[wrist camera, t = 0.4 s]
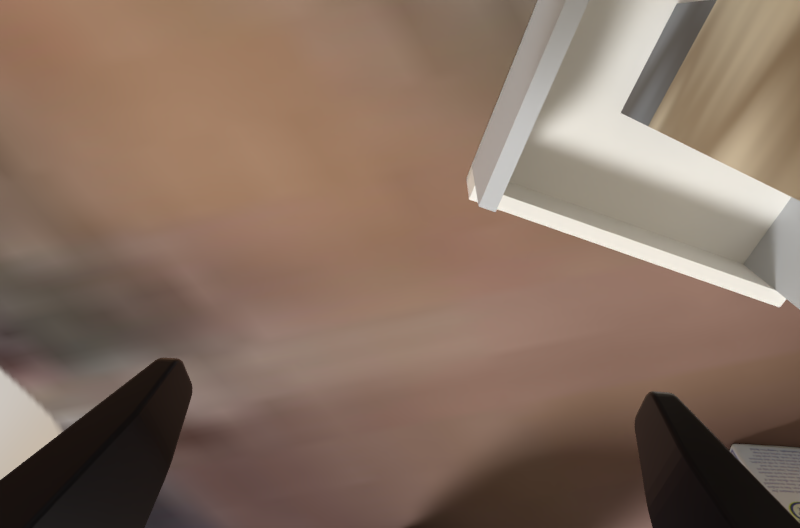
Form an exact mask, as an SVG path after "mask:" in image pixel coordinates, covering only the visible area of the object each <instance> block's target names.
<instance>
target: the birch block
mask: <svg viewBox="0 0 800 528" xmlns="http://www.w3.org/2000/svg"><path fill="white" fill-rule="evenodd" d="M621 113H622V114H624V115H626V116H628V117H630V118H632V119H634V120H636V121H638V122H640V123H642V124H644V125H646V126H648V127H650V128H652V129H654V130H656V131H658V132H660V133H663V134H665V135H667V136H669V137H671V138H673V139H675V140H677V141H679V142H681V143H683V144H685V145H687V146H689V147H691V148H693V149H695V150H697V151H699V152H701V153H703V154H705V155H707V156H709V157H711V158H713V159H715V160H717V161H719V162H721V163H723V164H725V165H727V166H730V167H732V168H734V169H736V170H738V171H740V172H742V173H744V174H746V175H748V176H750V177H752V178H754V179H756V180H758V181H760V182H762V183H764V184H766V185H768V186H770V187H772V188H774V189H776V190H778V191H780V192H782V193H784V194H786V195H788V196H790V197H792V198H795V199H797V200H799V201H800V0H704V1H695V2H686V3H677V4H676V6H675V8H674V10H673V12H672V14H671V16H670V17H669V19H668V21H667V23H666V25H665V27H664V29H663V31H662V33H661V35H660V37H659V39H658V41H657V43H656V45H655V47H654V49H653V51H652V52H651V54H650V56H649V58H648V60H647V62H646V64H645V66H644V68H643V70H642V72H641V74H640V76H639V78H638V80H637V82H636V84H635V86H634V88H633V89H632V91H631V93H630V95H629V97H628V99H627V101H626V103H625V105H624V107H623V109H622V111H621Z"/></svg>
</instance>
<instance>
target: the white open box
mask: <svg viewBox="0 0 800 528" xmlns="http://www.w3.org/2000/svg"><path fill="white" fill-rule="evenodd" d="M695 1H704V0H538V1H537V4H536V6H535V9H534V11H533V14H532V16H531V19H530V21H529V24H528V26H527V29H526V31H525V34H524V36H523V39H522V41H521V44H520V46H519V49H518V51H517V54H516V56H515V59H514V61H513V64H512V66H511V69H510V71H509V74H508V76H507V79H506V81H505V84H504V86H503V89H502V91H501V93H500V96H499V98H498V101H497V103H496V106H495V108H494V111H493V113H492V116H491V118H490V121H489V123H488V126H487V128H486V131H485V133H484V136H483V138H482V141H481V143H480V146H479V148H478V151H477V153H476V156H475V158H474V161H473V163H472V166H471V168H470V171H469V173H468V176H467V186H468V194H469V199H470V200H472V201H475V202H478V206H479V207H482V208H485V209H488V210H491V211H494V212H496V210H497V209H498V210H501V211H504V212H507V213H510V214H513V215H516V216H518V217H521V218H524V219H527V220H530V221H533V222H536V223H539V224H541V225H544V226H547V227H550V228H553V229H556V230H559V231H561V232H564V233H567V234H570V235H573V236H576V237H579V238H582V239H584V240H587V241H590V242H593V243H596V244H599V245H602V246H605V247H607V248H610V249H613V250H616V251H619V252H622V253H625V254H628V255H630V256H633V257H636V258H639V259H642V260H645V261H648V262H651V263H653V264H656V265H659V266H662V267H665V268H668V269H671V270H674V271H676V272H679V273H682V274H685V275H688V276H691V277H694V278H697V279H699V280H702V281H705V282H708V283H711V284H714V285H717V286H719V287H722V288H725V289H728V290H731V291H734V292H737V293H740V294H742V295H745V296H748V297H751V298H754V299H757V300H760V301H763V302H765V303H768V304H771V305H774V306H777V307H780V306H781V305H782V304H783V303H784V301H785V300H786V299H787V300H788V301H790V302H791V303H792V304H793V305H795V306H796V307H797V308H798V309H800V201H799V200H797V199H795V198H792V197H790V196H788V195H786V194H784V193H782V192H780V191H778V190H776V189H774V188H772V187H770V186H768V185H766V184H764V183H762V182H760V181H758V180H756V179H754V178H752V177H750V176H748V175H746V174H744V173H742V172H740V171H738V170H736V169H734V168H732V167H730V166H727V165H725V164H723V163H721V162H719V161H717V160H715V159H713V158H711V157H709V156H707V155H705V154H703V153H701V152H699V151H697V150H695V149H693V148H691V147H689V146H687V145H685V144H683V143H681V142H679V141H677V140H675V139H673V138H671V137H669V136H667V135H665V134H663V133H660V132H658V131H656V130H654V129H652V128H650V127H648V126H646V125H644V124H642V123H640V122H638V121H636V120H634V119H632V118H630V117H628V116H626V115H624V114H622V113H621V111H622V109H623V107H624V105H625V103H626V101H627V99H628V97H629V95H630V93H631V91H632V89H633V88H634V86H635V84H636V82H637V80H638V78H639V76H640V74H641V72H642V70H643V68H644V66H645V64H646V62H647V60H648V58H649V56H650V54H651V52H652V51H653V49H654V47H655V45H656V43H657V41H658V39H659V37H660V35H661V33H662V31H663V29H664V27H665V25H666V23H667V21H668V19H669V17H670V16H671V14H672V12H673V10H674V8H675V6H676V4H677V3H686V2H695Z"/></svg>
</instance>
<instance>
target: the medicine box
mask: <svg viewBox="0 0 800 528" xmlns="http://www.w3.org/2000/svg"><path fill="white" fill-rule="evenodd" d="M730 452H731V453H732V454H733V455H734V456H735V457H736V458H737V459H738V460H739V461H740V462H741V463H742V464H743V465H744V466H745V467H746V468H747V469H748V470H749V471H750V472H751V473H752V474H753V476H754V477H755V478H756V479H757V480H758V481H759V482H760V483H761V484H762V485H763V486H764V487H765V488H766V489H767V490H768V491H769V492H770V493H771V494H772V495H773V496H774V497H775V498H776V499H777V500H778V501H779V502H780V503H781V504H782V505H783V506H784V507H785V508H786V509H787V510H788V511H789V512H790V514H791V515H792V516H793V517H794V518H795V519H796V520H797V521H798V522H799V523H800V448H795V447H783V446H766V445H751V444H733V445H732V446H731V449H730Z"/></svg>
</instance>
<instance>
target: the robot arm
mask: <svg viewBox="0 0 800 528" xmlns="http://www.w3.org/2000/svg"><path fill="white" fill-rule="evenodd" d="M191 396H192V383H191V381H190V378H189V376H188V374H187V371H186V369H185V366H184V364H183V362H182V361H181V360H180V359H175V358H159V359H157V360H155V361H154V362H153V363H151V364H150V365H149V366H148V367H146V368H145V369H144V370H142V371H141V372H140V373H139V374H137V375H136V376H135V377H133V378H132V379H131V380H129V381H128V382H127V383H126V384H124V385H123V386H122V387H120V388H119V389H118V390H116V391H115V392H114V393H113V394H111V395H110V396H109V397H107V398H106V399H105V400H104V401H102V402H101V403H100V404H98V405H97V406H96V407H94V408H93V409H92V410H91V411H89V412H88V413H87V414H85V415H84V416H83V417H82V418H80V419H79V420H78V421H76V422H75V423H74V424H72V425H71V426H70V427H69V428H67V429H66V430H65V431H63V432H62V433H61V434H60V435H58V436H57V437H56V438H54V439H53V440H52V441H51V442H49V443H48V444H47V445H45V446H44V447H43V448H41V449H40V450H39V451H38V452H36V453H35V454H34V455H32V456H31V457H30V458H28V459H27V460H26V461H25V462H23V463H22V464H21V465H19V466H18V467H17V468H16V469H14V470H13V471H12V472H10V473H9V474H8V475H6V476H5V477H4V478H3V479H1V480H0V528H144V527H145V525H146V522H147V520H148V518H149V515H150V513H151V511H152V508H153V506H154V504H155V501H156V499H157V497H158V494H159V492H160V489H161V487H162V485H163V482H164V480H165V478H166V475H167V472H168V470H169V467H170V464H171V461H172V458H173V455H174V452H175V449H176V445H177V442H178V439H179V436H180V432H181V429H182V426H183V422H184V419H185V416H186V413H187V409H188V406H189V403H190V399H191ZM635 433H636V439H637V445H638V452H639V458H640V464H641V470H642V477H643V483H644V489H645V495H646V501H647V506H648V511H649V515H650V519H651V523H652V526H653V528H800V523H799V522H798V521H797V520H796V519H795V518H794V517H793V516H792V515H791V514H790V512H789V511H788V510H787V509H786V508H785V507H784V506H783V505H782V504H781V503H780V502H779V501H778V500H777V499H776V498H775V497H774V496H773V495H772V494H771V493H770V492H769V491H768V490H767V489H766V488H765V487H764V486H763V485H762V484H761V483H760V482H759V481H758V480H757V479H756V478H755V477H754V476H753V474H752V473H751V472H750V471H749V470H748V469H747V468H746V467H745V466H744V465H743V464H742V463H741V462H740V461H739V460H738V459H737V458H736V457H735V456H734V455H733V454H732V453H731V452H730V451H729V450H728V449H727V448H726V447H725V446H724V445H723V444H722V443H721V442H720V441H719V440H718V439H717V438H716V436H715V435H714V434H713V433H712V432H711V431H710V430H709V429H708V428H707V427H706V426H705V425H704V424H703V423H702V422H701V421H700V420H699V419H698V418H697V417H696V416H695V415H694V414H693V413H692V412H691V411H690V410H689V409H688V408H687V407H686V406H685V405H684V404H683V403H682V402H681V401H680V400H679V398H678V397H676V396H675V395H674V394H672V393H667V392H649V393H648V394H647V395H646V397H645V399H644V401H643V403H642V405H641V407H640V409H639V411H638V413H637V415H636V418H635Z"/></svg>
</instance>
